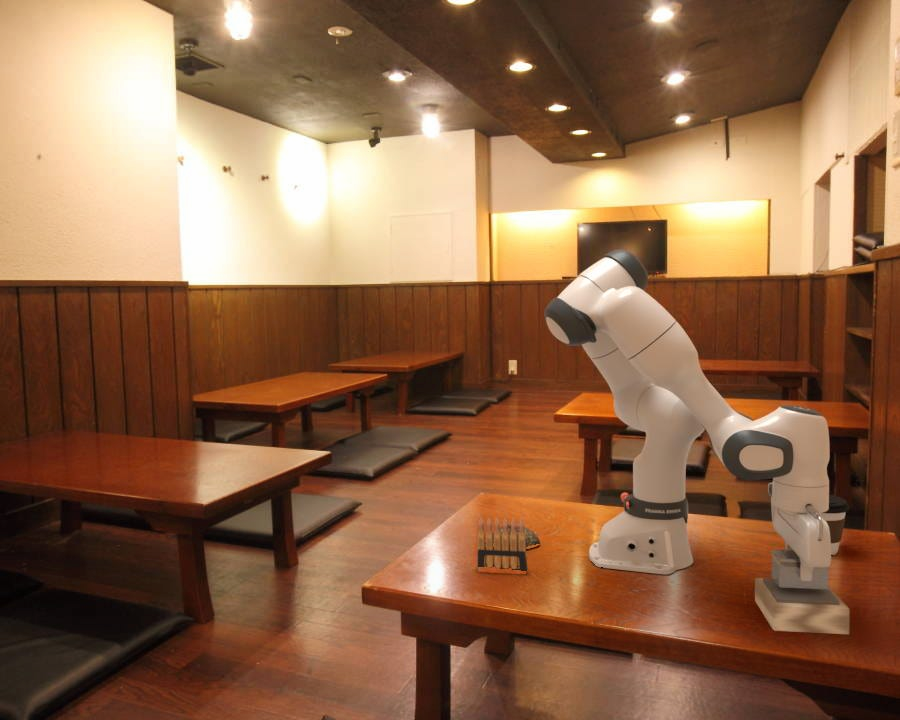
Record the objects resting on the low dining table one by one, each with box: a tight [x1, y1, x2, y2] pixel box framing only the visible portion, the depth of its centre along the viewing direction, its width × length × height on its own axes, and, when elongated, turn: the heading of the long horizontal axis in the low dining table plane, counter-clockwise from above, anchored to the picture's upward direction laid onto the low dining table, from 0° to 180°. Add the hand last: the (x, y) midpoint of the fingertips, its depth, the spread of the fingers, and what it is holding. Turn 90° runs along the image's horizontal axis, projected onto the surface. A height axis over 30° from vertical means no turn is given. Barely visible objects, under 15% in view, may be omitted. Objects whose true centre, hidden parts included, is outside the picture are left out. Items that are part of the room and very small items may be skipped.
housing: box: [771, 549, 830, 590], centre depth 121 cm, size 4×8×5 cm, turn 80°
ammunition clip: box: [476, 516, 528, 571], centre depth 146 cm, size 11×2×12 cm, turn 79°
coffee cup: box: [821, 494, 850, 556], centre depth 152 cm, size 11×11×12 cm
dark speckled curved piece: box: [492, 523, 541, 548], centre depth 163 cm, size 13×12×5 cm
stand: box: [754, 577, 850, 635], centre depth 121 cm, size 12×12×5 cm
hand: (799, 572), depth 121 cm, fingers closed on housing, 4 cm apart
